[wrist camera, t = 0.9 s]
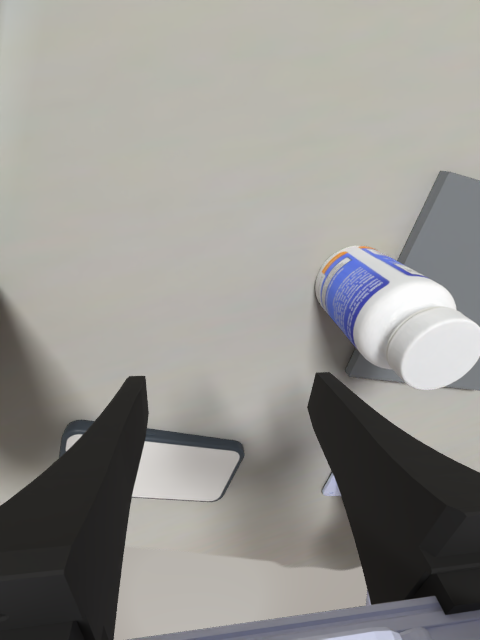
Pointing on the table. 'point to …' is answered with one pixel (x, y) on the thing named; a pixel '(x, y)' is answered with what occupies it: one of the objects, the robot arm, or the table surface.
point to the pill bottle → (398, 317)
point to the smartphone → (177, 464)
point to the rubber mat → (443, 260)
